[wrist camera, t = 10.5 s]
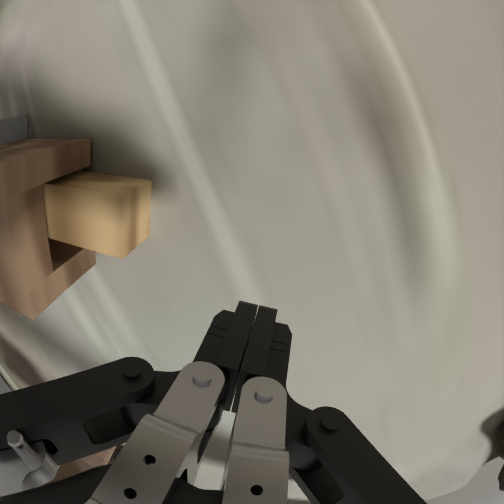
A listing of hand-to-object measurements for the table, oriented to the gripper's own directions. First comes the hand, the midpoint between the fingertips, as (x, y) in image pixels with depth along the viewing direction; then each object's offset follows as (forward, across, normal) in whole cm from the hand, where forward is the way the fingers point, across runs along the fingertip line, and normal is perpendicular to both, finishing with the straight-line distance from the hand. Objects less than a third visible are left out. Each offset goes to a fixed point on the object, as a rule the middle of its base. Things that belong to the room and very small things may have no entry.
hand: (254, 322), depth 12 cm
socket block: (+8, +18, 0) cm, 20 cm away
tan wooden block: (+8, +14, 0) cm, 16 cm away
